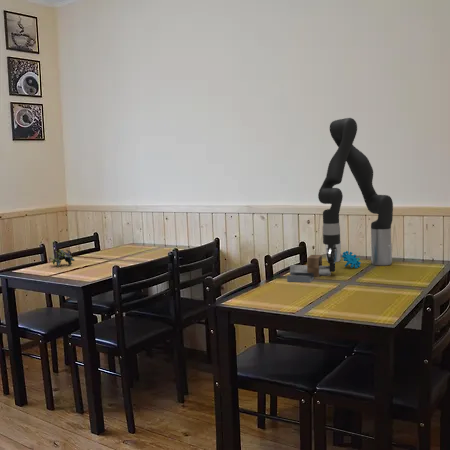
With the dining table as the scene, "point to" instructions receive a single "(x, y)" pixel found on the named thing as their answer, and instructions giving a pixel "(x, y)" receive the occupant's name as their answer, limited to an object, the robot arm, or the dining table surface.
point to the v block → (300, 277)
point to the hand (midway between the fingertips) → (332, 271)
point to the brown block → (314, 264)
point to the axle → (303, 268)
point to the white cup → (337, 251)
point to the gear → (351, 259)
